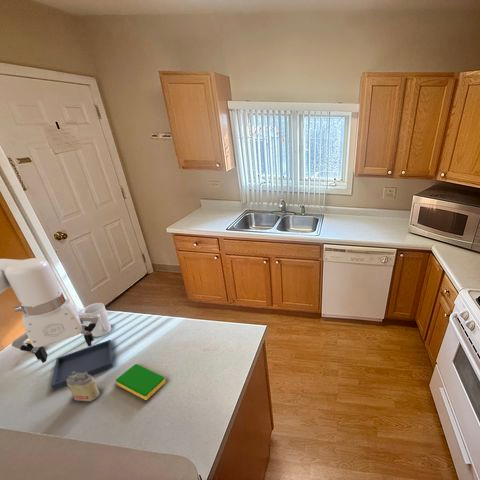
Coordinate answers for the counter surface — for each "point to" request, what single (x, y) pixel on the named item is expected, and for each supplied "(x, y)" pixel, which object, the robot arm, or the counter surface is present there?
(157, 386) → the dish sponge
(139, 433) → the counter surface
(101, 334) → the mug
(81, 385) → the lighter
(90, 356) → the tray
